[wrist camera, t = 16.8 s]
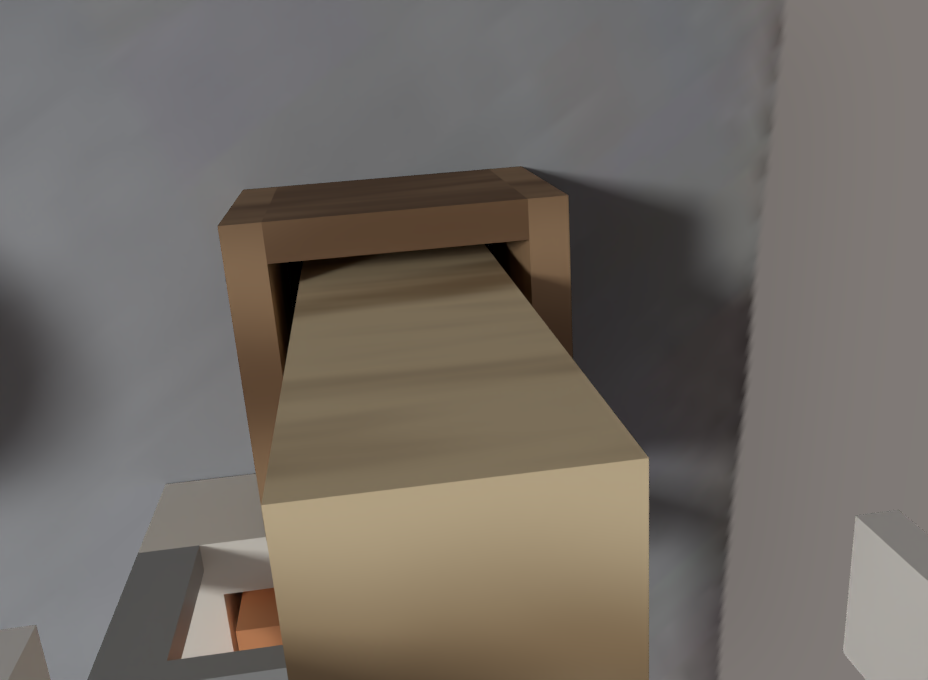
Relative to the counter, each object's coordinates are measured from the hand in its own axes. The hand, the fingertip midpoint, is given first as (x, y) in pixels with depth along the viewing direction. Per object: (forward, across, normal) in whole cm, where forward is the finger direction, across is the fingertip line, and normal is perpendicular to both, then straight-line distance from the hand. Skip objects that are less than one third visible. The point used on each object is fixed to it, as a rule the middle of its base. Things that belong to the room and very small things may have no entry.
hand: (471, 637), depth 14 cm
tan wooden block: (+20, 0, 0) cm, 20 cm away
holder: (+20, 0, 0) cm, 20 cm away
